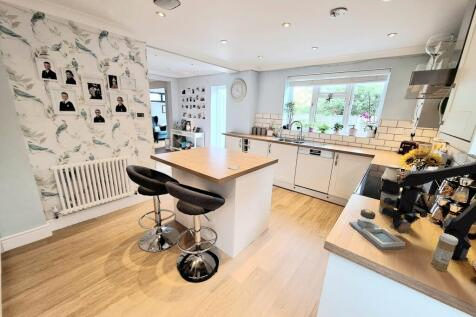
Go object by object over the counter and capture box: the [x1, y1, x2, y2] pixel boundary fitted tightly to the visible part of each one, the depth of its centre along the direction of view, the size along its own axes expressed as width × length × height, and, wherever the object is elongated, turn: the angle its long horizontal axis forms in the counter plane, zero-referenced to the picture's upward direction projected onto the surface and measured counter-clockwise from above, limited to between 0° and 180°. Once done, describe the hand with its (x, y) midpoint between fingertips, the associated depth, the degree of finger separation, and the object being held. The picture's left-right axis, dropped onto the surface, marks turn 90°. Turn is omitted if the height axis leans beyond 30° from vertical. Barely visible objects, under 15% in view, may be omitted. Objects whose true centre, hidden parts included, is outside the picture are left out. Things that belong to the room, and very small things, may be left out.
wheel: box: [360, 208, 376, 220], centre depth 95 cm, size 6×6×2 cm
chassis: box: [348, 217, 406, 251], centre depth 90 cm, size 19×12×4 cm, turn 8°
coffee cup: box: [378, 191, 401, 214], centre depth 111 cm, size 8×8×15 cm
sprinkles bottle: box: [430, 232, 458, 272], centre depth 71 cm, size 5×5×13 cm
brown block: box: [390, 219, 412, 235], centre depth 90 cm, size 5×4×6 cm
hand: (399, 228), depth 91 cm, fingers closed on brown block, 4 cm apart
